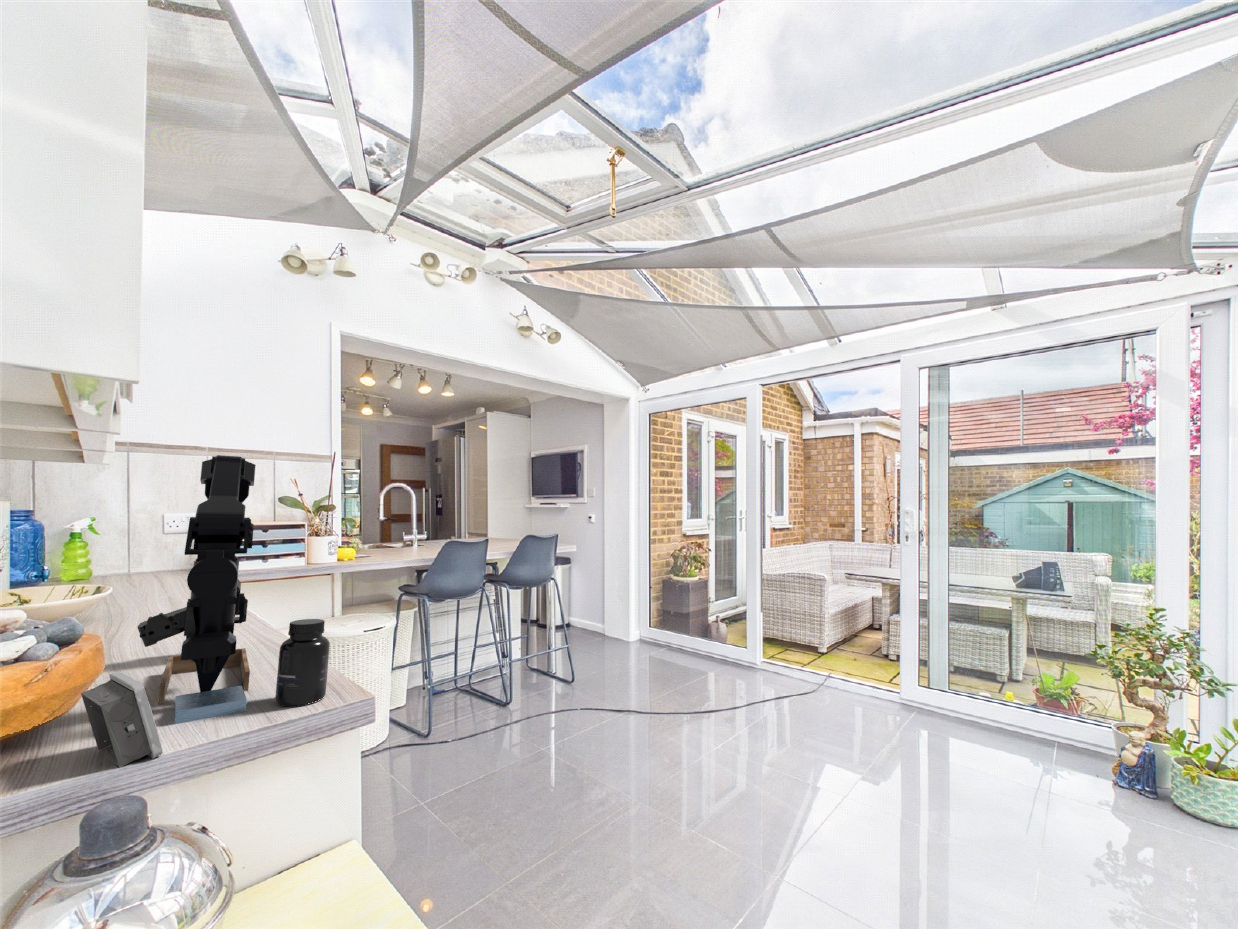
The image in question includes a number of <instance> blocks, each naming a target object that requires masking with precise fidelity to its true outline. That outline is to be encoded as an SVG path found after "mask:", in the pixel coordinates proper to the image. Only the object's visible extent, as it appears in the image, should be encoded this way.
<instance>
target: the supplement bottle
mask: <svg viewBox="0 0 1238 929" xmlns="http://www.w3.org/2000/svg"><path fill="white" fill-rule="evenodd" d="M325 623H326V622H325V619H321V618H320V619H319V618H305V619H304V618H303V619H297V620H293V621H290V622H289V627H288V628H289V630H288V634H287V635H288V636H289V638H288V639H286V640H284V641H283V642H282V643H281V645H280V646H279V653H278V654H279V655H278V663H277V664H278V665H277V675H276V686H275V687H276V688H275V699H274V701H275V703H276V704H277V705H278V706H281V707H288V708H292V707H291V706H296V707H299V706H298V705H304V706H306V705H305V704H308V703H312V702H315V701H318V700H319V699H321V698H323V697H324V698H325V697H326V692H327V684H328V682H327V681H328V670H329V659H330V657H329V656H330V645H331V644H330V640H329V639H328V638H327V637H326V636H324V635H323V634H324V633H325ZM324 698H323V699H324ZM321 700H322V699H321ZM318 702H319V701H318Z"/></svg>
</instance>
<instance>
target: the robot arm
mask: <svg viewBox="0 0 1238 929" xmlns="http://www.w3.org/2000/svg"><path fill="white" fill-rule="evenodd" d="M255 475H256V464H255V463H253V462H250V461H247V460H246V458H244V457H242V456H234V455H220V454H218V455H216V456H214V455H213V456H212V457H211V459H210V458H209V459H207V460H204V461H201V471H200V480H199V481H200V484H201V485H204V496H205V497H206V499H207V500H205V501H202V502H201V503H199V504H198V505H197V509H196V511H195V512H196V513H195V516H190V517H189V521H188V523H189V524H188V528H187V535H186V541H185V547H184V556H191V555H192V556H194V555H195V556H196V555H197V557H196V559H195V560H194V561H193V567H191V569H190V570H189V572H188V574H187V578H186V582H187V583H186V584H187V587H188V588H189V591H190V598H188V599H187V602H186V606H185V607H183V608H180V609H177V610H173V611H169V612H167V613H163V612H160V613H158V614H156V615H154V616H149V617H148V618H147V620H144V621H142V622H140V623H139V624H138V625H137V630H138V632H139V637H140V639H141V641H142V644H143V645H144V648H146V647H150V646H153V645H157V643H158V642H160V641H163V640H165V639H168V638H171V637H174V636H176V635H179V634H181V633H183V637H185V640H184V641H183V642H182V645H181V650H180V652H181V653H180V655H181V660H192V661H194V662H195V664H196V669H197V671H196V674H197V681H198V682H197V683H198V687H199V688H198V689H199V691H200V692H204V691H210V690H213V688H214V686H215V684H216V682H217V681H218V678H219V676H220V674H221V672H222V670H223V669H224V668H223V667H224V665H225V664H226V662H227V660H228V658H229V656H230V655H232V654H235V652H236V649H237V636H236V635H235V634H234V633H235V632H234V631H235V624H242V623H244V622H247V614H248V602H249V600H248V598H246V596H245V592H244V593H243V592H242V593H241V588H242V587H241V586H242V582H241V581H240V579H239V566H240V559H239V558H238V556H237V555H242V554H245V555H247V554H248V549H253V544H254V542H253V540H254V527H255V525H254V523H253V522H252V519H251V517H245V516H246V515H245V514H246V505H245V504H244V502H245V501H246V499H248V498H249V495H250V494H249V493H250V487H254V486H255ZM193 540H194V542H193ZM192 545H193V546H192ZM242 545H243V547H242ZM192 547H193V548H192ZM236 554H237V555H236Z"/></svg>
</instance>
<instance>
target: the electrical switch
mask: <svg viewBox="0 0 1238 929" xmlns="http://www.w3.org/2000/svg"><path fill="white" fill-rule="evenodd" d="M108 677H109V680H108V681H106V682H104V683H101V684H99V685H98V686H95V687H94V688H90V689H88V690H87V689H86V690H85V691H82V692H80V694H81V698H82V702H83V704H84V708H85V711H86V714H87V718H88V721H89V724H90V727H91V730H92V733H93V738H94V741H95V744H96V747H97V750H98V751H99V753H101V754H102V755H104V756H105V757H106V758H107V759H109V760H110V761H111V762H113V763H114V764H115V765H116V766H118V768H122V767H123V766H126V765H128V764H130V763H132V762H135V761H137V760H139V759H141V758H143V757H145V756H149V757H150V758H151V759H153V760H154V759H156V758H157V757H159V756H161V755H162V754H163V748H162V743H161V738H160V734H159V731H158V728H157V726H156V725H157V724H156V721H155V717H154V715H153V711H152V706H151V705H150V702H149V699H148V696H147V692H146V690H145V686H144V684H143V683H142V682H140V681H138V680H136V679H134V678H133V677H130V676H129V675H127V674H125V673H123V672H121V671H119V670H118V671H114V672H112V673H109V674H108Z"/></svg>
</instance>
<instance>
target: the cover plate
mask: <svg viewBox="0 0 1238 929" xmlns="http://www.w3.org/2000/svg"><path fill="white" fill-rule="evenodd" d="M247 700H248V699H247V696H246V693H245V691H244V689H243V685H236V686H231V687H223V688H219V689H212V690H210V691H204V692H192V693H184V694H179V695H175V701H174V725H179V724H185V723H190V722H194V721H195V722H196V721H201V720H206V719H212V718H217V717H221V716H222V717H223V716H228V715H232V714H239V713H243V712H244V713H245V712H247V702H248V701H247Z"/></svg>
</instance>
